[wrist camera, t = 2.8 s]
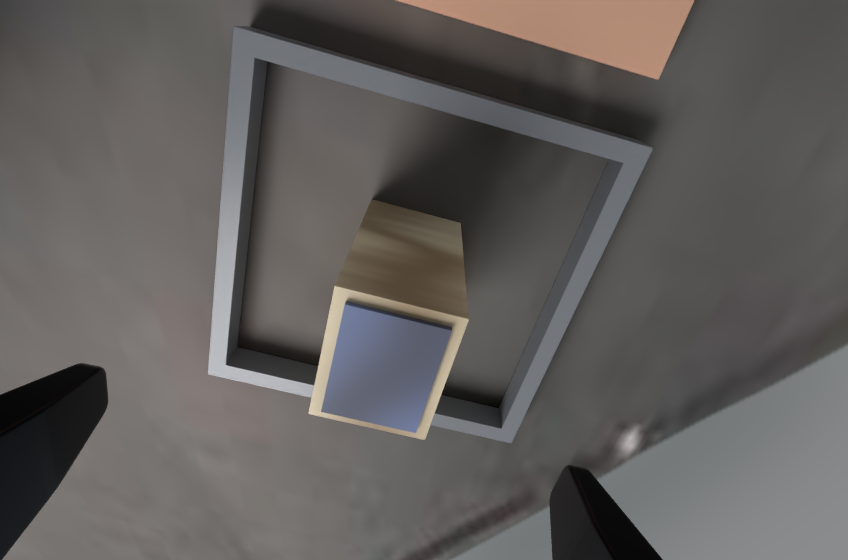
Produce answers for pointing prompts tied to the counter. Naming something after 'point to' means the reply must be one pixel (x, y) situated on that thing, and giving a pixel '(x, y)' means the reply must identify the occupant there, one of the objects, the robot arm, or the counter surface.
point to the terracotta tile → (581, 26)
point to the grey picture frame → (264, 47)
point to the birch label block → (393, 322)
